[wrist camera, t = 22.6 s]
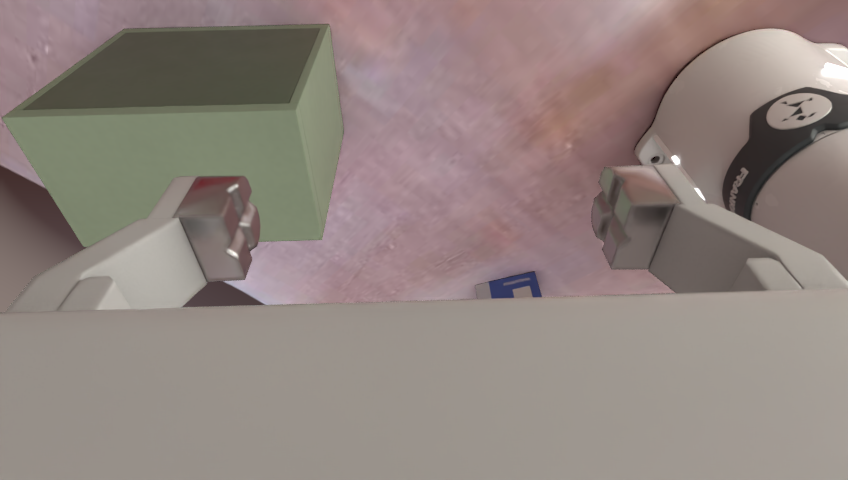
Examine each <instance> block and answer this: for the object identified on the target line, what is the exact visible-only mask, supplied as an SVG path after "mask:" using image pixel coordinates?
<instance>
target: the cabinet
mask: <svg viewBox="0 0 848 480" xmlns="http://www.w3.org/2000/svg"><path fill="white" fill-rule="evenodd" d="M2 119H3V121H4V123H5V124H6V126H7V127H8V129H9V130H10V132H11V134H12V135H13V137H14V138H15V140H16V141H17V143H18V145H19V146H20V148H21V149H22V151H23V152H24V154H25V156H26V157H27V159H28V160H29V162H30V163H31V165H32V167H33V168H34V170H35V171H36V173H37V174H38V176H39V178H40V179H41V181H42V182H43V184H44V185H45V187H46V189H47V190H48V192H49V193H50V195H51V196H52V198H53V200H54V201H55V203H56V204H57V206H58V207H59V209H60V211H61V212H62V214H63V215H64V217H65V218H66V220H67V221H68V223H69V225H70V226H71V228H72V229H73V231H74V232H75V234H76V236H77V237H78V238H79V240H80V242H81V244H82V245H83V246H84V247H89V246H91V245H93V244H95V243H96V242H98V241H100V240H102V239H104V238H106V237H107V236H109V235H111V234H113V233H115V232H117V231H118V230H120V229H122V228H124V227H126V226H127V225H129V224H131V223H133V222H135V221H137V220H138V219H147V217H148V216H149V214H150V213H151V211H152V210H153V208H154V207H155V205H156V204H157V202H158V201H159V199H160V198H161V196H162V195H163V193H164V192H165V190H166V189H167V187H168V186H169V184H170V183H171V181H172V180H173V178H175V177H179V176H245V177H246V178H247V179H248V181H249V184H250V187H251V190H252V193H251V196H250V198H249V201H250V202H251V203H252V204H254V205H255V206H256V207H257V210H258V213H259V217H260V225H261V228H260V238H259V241H258V242H266V241H301V240H322V237H323V233H324V228H325V223H326V218H327V213H328V208H329V203H330V198H331V193H332V188H333V183H334V178H335V173H336V169H337V164H338V159H339V154H340V149H341V144H342V139H343V134H344V129H343V121H342V114H341V107H340V99H339V92H338V85H337V77H336V70H335V63H334V55H333V48H332V41H331V33H330V26H329V24H310V25H267V26H225V27H182V28H140V29H123V30H122V31H120V32H119V33H118V34H116V35H115V36H114V37H112V38H111V39H109V40H108V41H107V42H105V43H104V44H103V45H101V46H100V47H98V48H97V49H96V50H94V51H93V52H92V53H90V54H89V55H87V56H86V57H85V58H83V59H82V60H80V61H79V62H78V63H76V64H75V65H74V66H72V67H71V68H69V69H68V70H67V71H65V72H64V73H63V74H61V75H60V76H58V77H57V78H56V79H54V80H53V81H52V82H50V83H49V84H47V85H46V86H45V87H43V88H42V89H41V90H39V91H38V92H36V93H35V94H34V95H32V96H31V97H29V98H28V99H27V100H25V101H24V102H23V103H21V104H20V105H18V106H17V107H16V108H14V109H13V110H12V111H10V112H9V113H7V114H6V115H5V116H3V117H2Z"/></svg>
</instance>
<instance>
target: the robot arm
mask: <svg viewBox="0 0 848 480" xmlns="http://www.w3.org/2000/svg"><path fill="white" fill-rule="evenodd" d="M635 156H636V157H637V159H638V160H639V161H640V163H641V164H642V165H634V166H614V167H604V169H603V171H602V172H601V175H600V179H599V182H598V183H599V185H600V186H601V188H602V190H603V191H602V192H600V193H599V194H598V195H597V196H596V197H595V198H594V201H593V206H592V210H591V222H592V227H593V230H594V233H595V235H596V237H597V238H599V239H600V240H602V241H603V242H604V245H603V248H602V250H603V253H604V255H605V257H606V259H607V261H608V263H609V265H610V268H611V269H649V270H648V271H649V272H650V273H652V274H653V275H654V276H655V277H657V278H658V279H659V280H660V281H662V282H663V283H664V284H665V285H667V286H668V287H669V288H670V289H672V290H673V291H674V292H675V293H667V294H632V295H598V296H564V297H529V298H495V299H460V300H425V301H390V302H356V303H321V304H286V305H252V306H220V307H219V306H216V307H182V306H183V305H184V304H185V303H187V302H188V301H189V300H190V299H191V298H192V297H193V296H194V295H195V294H196V293H197V292H199V291H200V290H201V289H202V288H203V287H204V286H205V285H206V284H207V282H212V281H231V280H245V278H246V275H247V272H248V270H249V267H250V264H251V261H252V257H251V254H250V251H251V250H252V249H254V248H255V247H256V246H257V244H258V241H259V238H260V228H261V225H260V217H259V213H258V210H257V207H256V206H255V205H254V204H252V203H251V202H250V201H249V198H250V196H251V193H252V190H251V187H250V184H249V181H248V179H247V178H246V177H245V176H179V177H175V178H173V180H172V181H171V183H170V184H169V186H168V187H167V189H166V190H165V192H164V193H163V195H162V196H161V198H160V199H159V201H158V202H157V204H156V205H155V207H154V208H153V210H152V211H151V213H150V214H149V216H148V217H147V219H138V220H137V221H135V222H133V223H131V224H129V225H127V226H126V227H124V228H122V229H120V230H118V231H117V232H115V233H113V234H111V235H109V236H107V237H106V238H104V239H102V240H100V241H98V242H96V243H95V244H93V245H91V246H89V247H87V248H86V249H84V250H82V251H80V252H78V253H76V254H75V255H73V256H71V257H69V258H67V259H66V260H64V261H62V262H60V263H58V264H56V265H55V266H53V267H51V268H49V269H47V270H45V271H44V272H42V273H40V274H38V275H36V276H35V277H33V279H32V280H31V281H30V282H29V283H28V285H27V286H26V287H25V288H24V289H23V291H22V292H21V293H20V294H19V296H18V297H17V298H16V299H15V300H14V302H13V303H12V304H11V305H10V306H9V308H8V309H7V310H6V311H5V312H4V313H0V480H848V49H847V48H846V47H844V46H843V45H840V44H832V43H818V44H816V43H812V42H810V41H808V40H806V39H804V38H803V37H801V36H799V35H798V34H795V33H793V32H790V31H787V30H782V29H758V30H752V31H748V32H744V33H741V34H738V35H735V36H733V37H730V38H728V39H726V40H724V41H722V42H720V43H718V44H716V45H714V46H713V47H711V48H710V49H708V50H706V51H705V52H704V53H702V54H701V55H700V56H698V57H697V58H696V59H695V60H693V61H692V62H691V63H690V64H689V65H688V66H687V67H686V68H685V69H684V70H683V71H682V72H681V73H680V74H679V75H678V77H677V78H676V79H675V80H674V82H673V83H672V84H671V86H670V87H669V89H668V90H667V92H666V94H665V96H664V98H663V100H662V102H661V104H660V106H659V109H658V112H657V115H656V118H655V120H654V122H653V124H652V126H651V128H650V129H649V130H648V131H647V132H646V133H645V135H644V136H643V137H642V138H641V140H640V141H639V143H638V144H637V146H636V148H635ZM655 156H656V158H655V159H653V160H651V159H652V158H653V157H655Z"/></svg>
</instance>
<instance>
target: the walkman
mask: <svg viewBox="0 0 848 480" xmlns="http://www.w3.org/2000/svg"><path fill="white" fill-rule="evenodd" d="M475 287H476V295H477V299H495V298H529V297H542V296H541V292H540V289H539V285H538V282H537V278H536V275H535V272H531V273H526V274H522V275H517V276H513V277H508V278H504V279H499V280H495V281H490V282H487V283H483V284H478V285H475Z"/></svg>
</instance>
